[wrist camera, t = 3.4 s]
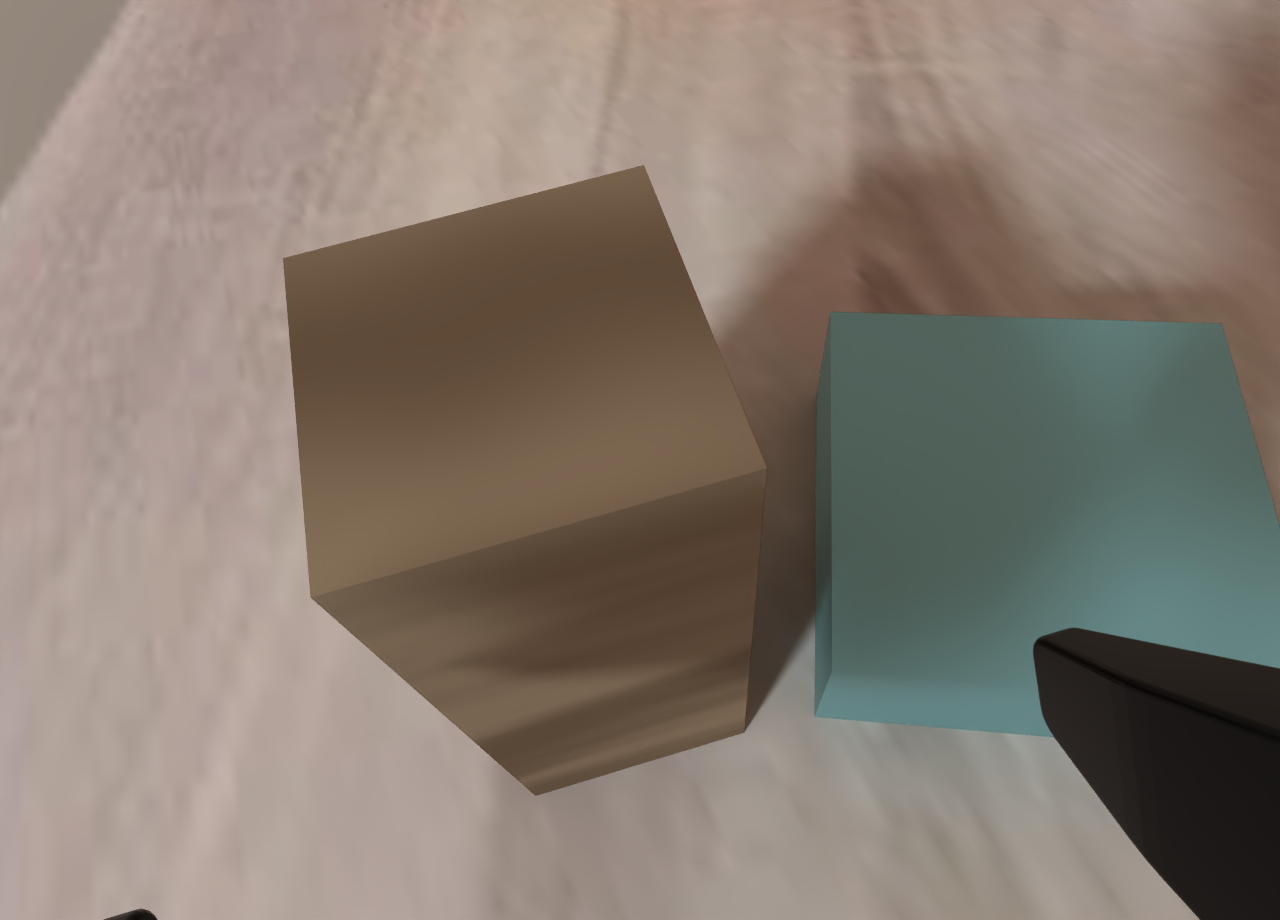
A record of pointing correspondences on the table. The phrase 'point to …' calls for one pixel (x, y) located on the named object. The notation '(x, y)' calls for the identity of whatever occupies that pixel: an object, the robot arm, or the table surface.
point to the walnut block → (532, 476)
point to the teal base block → (1027, 508)
